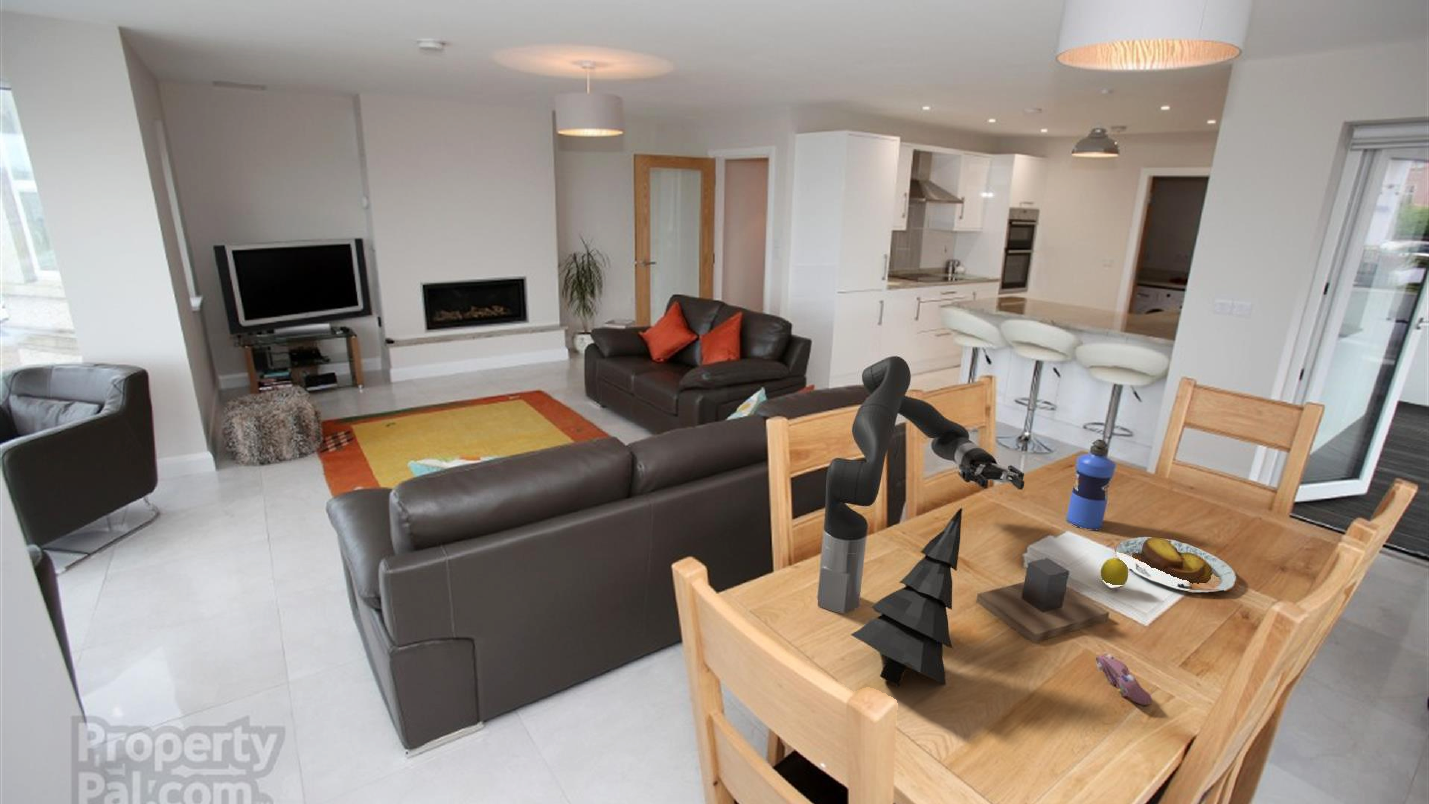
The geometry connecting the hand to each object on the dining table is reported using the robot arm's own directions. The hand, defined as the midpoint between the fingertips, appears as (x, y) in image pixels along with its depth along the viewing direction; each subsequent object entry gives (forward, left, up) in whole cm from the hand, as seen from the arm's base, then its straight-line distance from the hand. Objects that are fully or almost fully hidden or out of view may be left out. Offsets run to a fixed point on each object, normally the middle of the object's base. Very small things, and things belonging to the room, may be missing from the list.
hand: (1004, 485), depth 160 cm
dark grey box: (-10, -13, -21) cm, 27 cm away
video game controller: (-30, -28, -24) cm, 48 cm away
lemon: (+10, -26, -23) cm, 36 cm away
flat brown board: (-10, -13, -23) cm, 28 cm away
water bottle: (+46, -18, -23) cm, 54 cm away
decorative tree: (-45, +6, -23) cm, 51 cm away
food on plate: (+29, -39, -24) cm, 54 cm away
